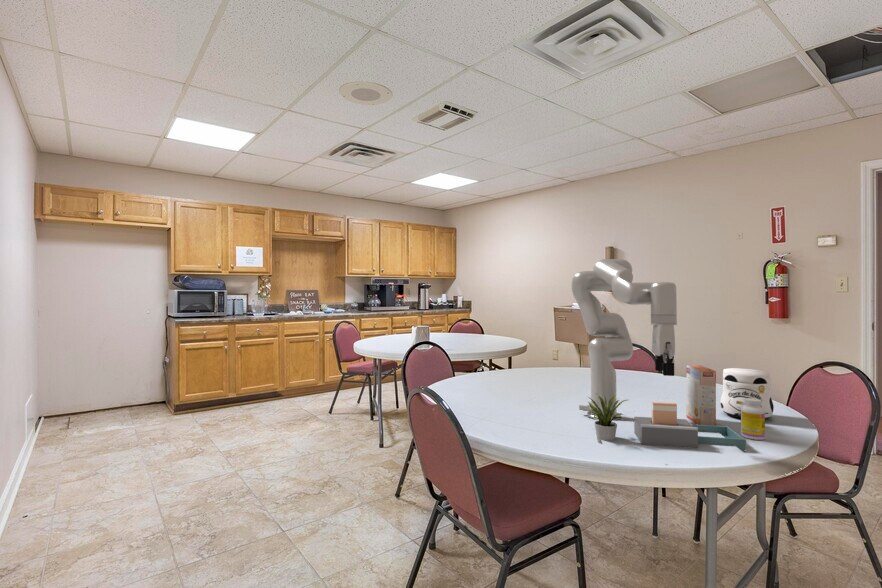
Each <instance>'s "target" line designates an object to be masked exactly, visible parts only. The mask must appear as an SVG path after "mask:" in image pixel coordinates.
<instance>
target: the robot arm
mask: <svg viewBox="0 0 882 588" xmlns="http://www.w3.org/2000/svg"><path fill="white" fill-rule="evenodd" d="M633 279H634V274H633V267H632V264H631V263H630V262H629V261H628V260H626V259H623V258H604V259H600V260H598V261H597V262H595V264H594V265H593V269H592V270H585V271H584V270H583V271H579V272H577V273H575V274H574V275H573V277H572V280H571V292H572V295H573V297H574V299H575V302H576V303H577V305H578V307H579V310H580V313H581V317H582V320H583V321H582V322H583V324H584V327H585V329H586V333H587V334H588V335H590V336H591V337H596V338H593V339H591V340H590V341H589V342H588V345H587V352H588V357H589V364H590V398H591V399H592V400H593V401H595V403H596V404H597V405H598V407H599V408H600V409H601V410H602V413H603V415H604V412H603V408H602V405H601V401H600V399H599V397H598V396H600V397H601V398H602V399H603V400H604V403H605V397H606V402H607V404H608V403H609V400H610V399H611V397H612V396H613V395H616V394H617V373H616V369H615V367H614V366H613V364H612V362H619V361H622V362H623V361H629V360H630V359H631V358H632V356H633V355H634V346H633V343H632V339H631V335H630V333H629V330H628V327H627V324H626V322H625V320H624V318H623V316H622V315H621V314H619V313H616V312H605V311H604V310H603V307H602V305H601V302H600V300H599V299H598V298H597V297H596V296H595V295H594V294H593V293H592V292H609V291H611V292H612V294H613V296H614V297H615V298H617V299H618V300H620V301H621V302H622V303H625V304H627V305H632V306H634V305H635V306H637V305H650V324H651V325H652V337H651V352H652V353H653V354H654V366H655V368H654V369H655V371H656V372H658V371H660V372H662V375H663V376H666V377H667V376H668V377H674V376H675V355H676V337H675V326H677V325H678V318H677V317H678V315H677V314H678V310H677V306H678V305H677V285H676V283H674V282H670V281H669V282H668V281H667V282H666V281H665V282H664V281H663V282H633V281H634V280H633ZM596 394H597V395H598V396H597V395H596ZM604 395H605V397H604ZM591 399H590V403H591V404H592V405H593V406H594V407H596V406H595V405H594V404H593V403H592V402H593V401H592V400H591ZM616 401H617V395H616V396H615V397H614V399H613V401H612V402H613V403H612V405H611V408H610V410H612V408H613V405H614V404H615V402H616ZM616 406H617V405H616ZM616 406H615V407H616ZM596 408H597V407H596ZM607 408H608V406H607ZM578 409H579V410H578V411H583V412H586V415H587V417H589V418H591V419H593V420H596V421H599V419H598V416H597V415H596V414H594V413H591V412H594V411H590V410H592V408H591V407H590V405H589V404H587V405H583V404H582V405H581V404H579V405H578ZM597 410H598V409H597ZM598 411H599V410H598ZM616 414H619V412H617V408H616V409H615V411H614V412H613V414H612V417H614V416H615V415H616ZM594 416H595V417H597V418H592V417H594ZM612 417H611V419H612ZM616 417H622V415H617V416H616ZM620 419H621V418H617V419H613V420H612V422H614V421H619V420H620Z"/></svg>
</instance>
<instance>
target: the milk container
mask: <svg viewBox="0 0 882 588" xmlns="http://www.w3.org/2000/svg"><path fill="white" fill-rule="evenodd" d="M771 384H772V383H771V373H770V372H769V371H765V370H761V369H754V368H741V367H740V368H739V367H730V368H724V369H723V371H722V387H723V388H722V393H721V396H720V401H719V402H720V408H721V410H722V412H723V413H724V414H727V415H728V416H731V417H735V418H738V419H741V408H742V406H745V402H744V399H745V398H754V399H759V400H761V405H760V407H761V408H763V409H764V411H765V420H766V419H767V420H768V419H770V418H771V417H772V416H773V414H774V410H775V409H774V408H775V406H774V402H773V399H772V394H771V386H772V385H771Z"/></svg>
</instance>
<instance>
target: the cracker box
mask: <svg viewBox="0 0 882 588" xmlns="http://www.w3.org/2000/svg"><path fill="white" fill-rule="evenodd" d="M685 370H686V418H688V419H689V420H691V421H692V422H693V423H695V425H711V426H717V370H714V369H711V368H710V367H709V368H708V367H706V366H704V365H701V364H700V365H699V364H687V365H686V369H685Z"/></svg>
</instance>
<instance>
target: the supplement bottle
mask: <svg viewBox="0 0 882 588" xmlns="http://www.w3.org/2000/svg"><path fill="white" fill-rule="evenodd" d="M744 402H745V406H742V408H741V418H740V423H741V424H740V431H741V433H740V434H741V435H740V436H742V437H743V438H744V439H748V438H749V440H753V439H754V440H755V441H762V440H765V438H766V419H765V411H764V409H763V408H761V407H760V405H761V400H759V399H754V398H745V399H744ZM754 440H753V441H754Z"/></svg>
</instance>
